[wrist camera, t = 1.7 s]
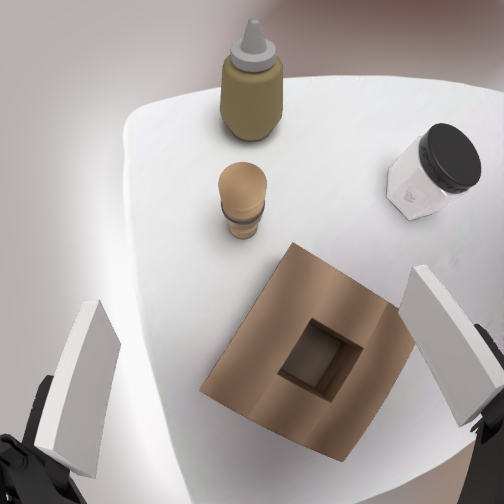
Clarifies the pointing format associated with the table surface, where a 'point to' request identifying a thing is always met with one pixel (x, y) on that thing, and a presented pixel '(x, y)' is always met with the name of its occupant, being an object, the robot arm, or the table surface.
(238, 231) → the oak peg
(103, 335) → the robot arm
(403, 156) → the jar
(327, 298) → the walnut socket block
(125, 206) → the table surface
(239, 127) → the squeeze bottle
